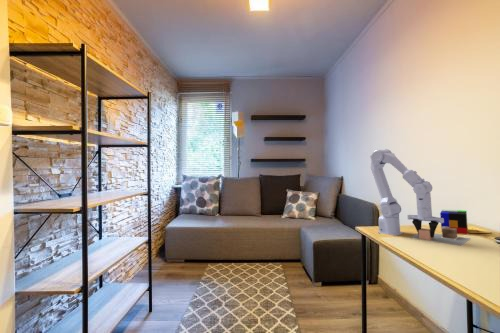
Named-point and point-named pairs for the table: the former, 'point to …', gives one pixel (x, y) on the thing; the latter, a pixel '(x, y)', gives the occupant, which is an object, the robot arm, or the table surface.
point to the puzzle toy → (455, 220)
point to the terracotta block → (425, 234)
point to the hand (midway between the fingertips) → (426, 236)
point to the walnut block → (449, 233)
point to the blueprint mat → (445, 239)
